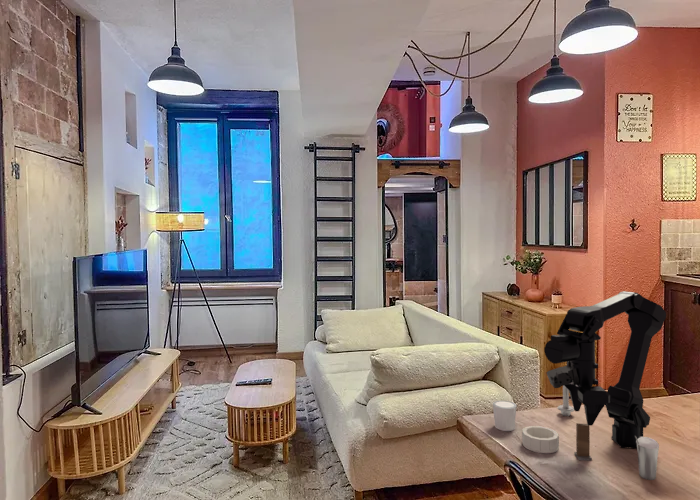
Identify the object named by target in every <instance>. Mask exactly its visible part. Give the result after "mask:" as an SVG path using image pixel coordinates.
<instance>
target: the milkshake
mask: <svg viewBox="0 0 700 500" xmlns="http://www.w3.org/2000/svg"><path fill="white" fill-rule="evenodd" d="M635 438H636V444H637V448H636V450H637V452H636V453H637V461H638V462H637V464H638V473H639V474H638V475H639V476H640V477H641V478H642V479H644V480H647V481H648V480H649V481H654V480H656V479H657V470H658V469H657V468H658V458H659V457H658V456H659V448H660V445H659V443H658V441H657V440H655V439H654V438H651V437H649V436H643V437H640V438H638V439H637V437H636V436H635Z"/></svg>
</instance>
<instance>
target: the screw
mask: <svg viewBox="0 0 700 500" xmlns="http://www.w3.org/2000/svg"><path fill="white" fill-rule="evenodd" d="M557 409H558V411H560V415H562V416H564V417H569V416H571V414H572V413H573V412H575V411H574V407H573V406H571V405H570V393H569V390H568V389H567V388H566V387H565V386H564V385H563V386H562V404H560V405H558V406H557Z"/></svg>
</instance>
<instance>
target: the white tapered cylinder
mask: <svg viewBox="0 0 700 500" xmlns="http://www.w3.org/2000/svg"><path fill="white" fill-rule="evenodd" d="M517 407H518V406H517V404H516V403H515V402H513V401H510V400H496V401H493V402H492V409H493V419H494V427H495V429H498V430H500V431H503V432H510V431H511V432H512V431H514V430H515V429H516V417H517Z"/></svg>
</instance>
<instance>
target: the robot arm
mask: <svg viewBox="0 0 700 500" xmlns="http://www.w3.org/2000/svg"><path fill="white" fill-rule="evenodd" d="M623 313H625V314H626V315H627V316H628V317H627V323H628V326H629V330H630V331H631V333H630V336H629V341H628V344H627V347H626V352H625V355H624V359H623V364H622V369H621V372H620V375H619V379H618V382H617V383H615V385H614V386H613V385H609V386H608V388H607V391H606V389H604V388H603V387H602V386H601V385H600V386H599V380H598V379H596V369H599V364H598V363H596V341H599V340H601V338H602V337H601V336H600V335H599V334H597V333H596V332H598V331H599V330H601V328H603V327H604V323H605V322H606V321H608V320H610V319H613V318H614V317H616V316H618V315H619V316H620V315H621V314H623ZM666 318H667V312H666V310H665V309H664V308H663V306H662V305H660V304H658V303H656V302H654V301H652V300H650V299H648V298H646V297H644V296H643V295H642V294H640V293H638V292H633V291H625V290H624V291H620V292H619V293H618V294H615V295H613V296H611V297H609V298H607V299H605V300H602V301H600V302H598V303H595V304H593V305H589V306H577V307H573V308H570V309H568V310H567V311H566V314H565V316H564V318H563V320H562V321H561V324H560V326H559V327H558V328H559V329H558V330H557V332H556V334H553V335H550V340H548V341H546V343H545V344H544V345H545V346H544V348H543V353H544V356H545V357H546V359H547V360H548V361H549V362H550V363H551V364H561V363H566V365H565V366H559V367H557V368H553V369H550V370H548V371H546V375H547V378H548V381H549V383H550V385H551V386H552V387H553V388H554V389H559V388H561V387H563V385H564V386H565V387H566V388H567V389H568V390H569V391H568V392H569V398H570V400H571V403H572V407H573V408H574V411H573V412H580V410H581V406H582V405H583V407H584V414H585V418H586V424H588V425H589V426H591V427H592V426H593V425H594V424H595V422H596V420H597V418H598V416H599V415H600V413H601V411H602V410H603V408H604V407H605V408H606V412H607V416H608V418H610V419H613V424H612V425H611V432H612V433H611V437H610V438H611V439H612V440H613V442H615V443H616V444H617V445H618V446H619V447H620V448H622V449H637V444H636V438H635V436H636V437H637V439H638V438H640V437H644V429H646V428H647V426H649V425H650V420H651V416H650V415H649V414H648V413H647V412H646V410H645V409H644V407H643V406H644V398H643V395H642V392H641V390H640V389H641V387H640V386H641V383H642V378H643V375H644V370H645V367H646V362H647V360H648V355H649V351H650V347H651V343H652V339H653V337H654V336H655V335H656V334H658V333H659V332H660V331H661V330H662V328H663V325H664V323H665V320H666ZM595 385H597V386H595Z"/></svg>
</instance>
